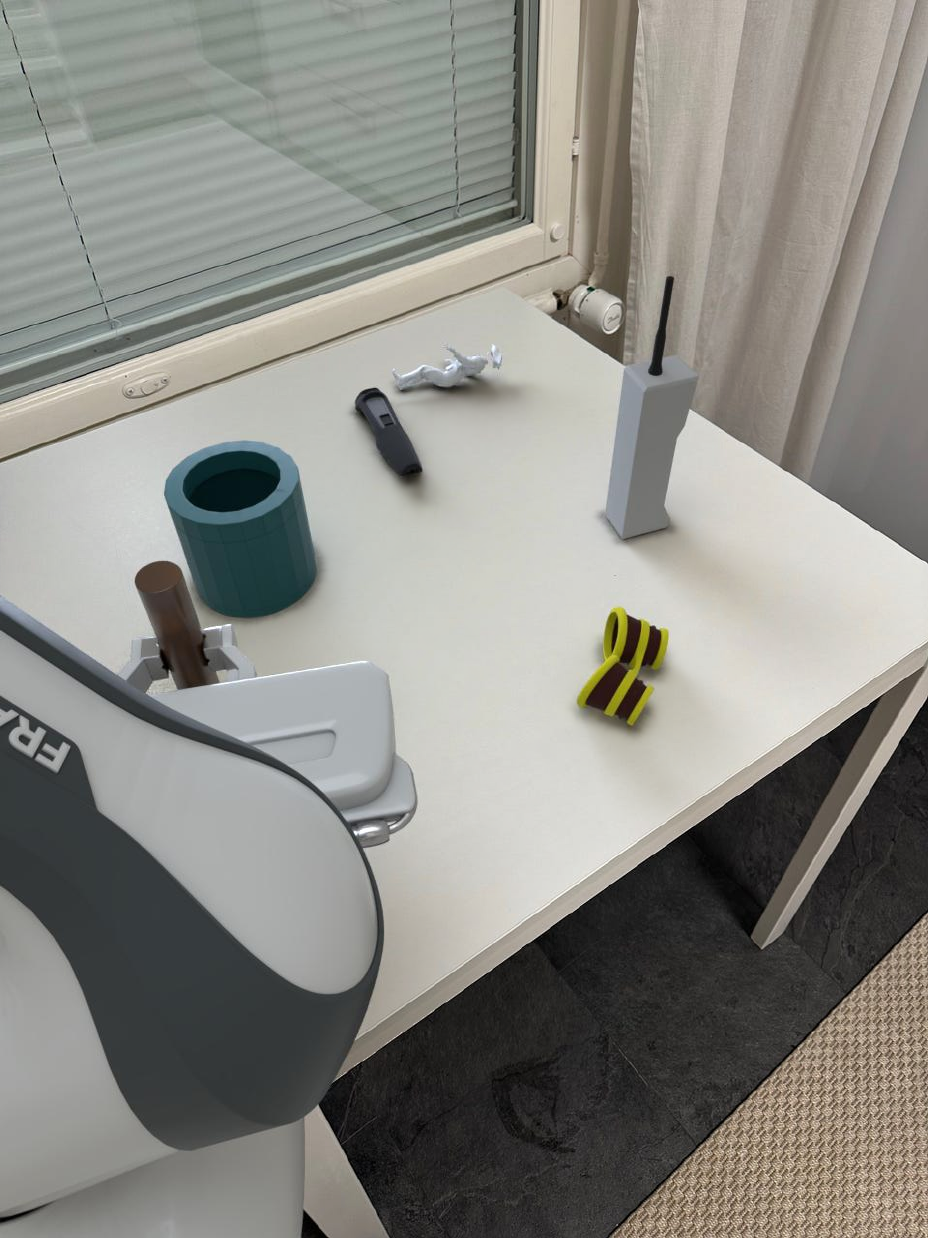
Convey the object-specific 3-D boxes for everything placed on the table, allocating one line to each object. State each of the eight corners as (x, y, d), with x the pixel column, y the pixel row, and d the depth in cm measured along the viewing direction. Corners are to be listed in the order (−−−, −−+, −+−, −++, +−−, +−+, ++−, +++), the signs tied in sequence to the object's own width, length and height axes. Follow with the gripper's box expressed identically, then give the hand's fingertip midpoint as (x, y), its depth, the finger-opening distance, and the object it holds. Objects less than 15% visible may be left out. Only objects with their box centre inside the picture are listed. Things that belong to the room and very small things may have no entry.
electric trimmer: (395, 492, 90) (393, 467, 88) (352, 408, 100) (349, 384, 97) (430, 483, 91) (429, 458, 89) (384, 401, 101) (382, 377, 98)
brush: (212, 846, 55) (115, 629, 40) (192, 783, 58) (94, 560, 43) (290, 814, 56) (224, 592, 41) (266, 754, 59) (196, 528, 44)
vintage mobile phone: (668, 528, 85) (719, 279, 67) (621, 541, 84) (659, 291, 66) (650, 504, 88) (694, 258, 69) (604, 516, 87) (636, 269, 68)
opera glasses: (631, 742, 70) (652, 707, 66) (569, 715, 70) (586, 680, 67) (659, 653, 76) (679, 617, 72) (601, 629, 77) (618, 592, 73)
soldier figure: (395, 379, 105) (486, 333, 105) (413, 416, 106) (504, 371, 105) (388, 365, 98) (487, 316, 97) (408, 406, 98) (507, 356, 97)
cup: (214, 634, 77) (182, 540, 69) (182, 556, 84) (150, 462, 76) (333, 592, 80) (316, 498, 72) (294, 521, 87) (274, 427, 79)
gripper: (421, 797, 37) (377, 567, 46) (-108, 892, 34) (-42, 627, 43) (427, 869, 41) (386, 647, 50) (-38, 957, 39) (8, 706, 48)
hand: (185, 638), depth 47 cm, fingers closed on brush, 2 cm apart
